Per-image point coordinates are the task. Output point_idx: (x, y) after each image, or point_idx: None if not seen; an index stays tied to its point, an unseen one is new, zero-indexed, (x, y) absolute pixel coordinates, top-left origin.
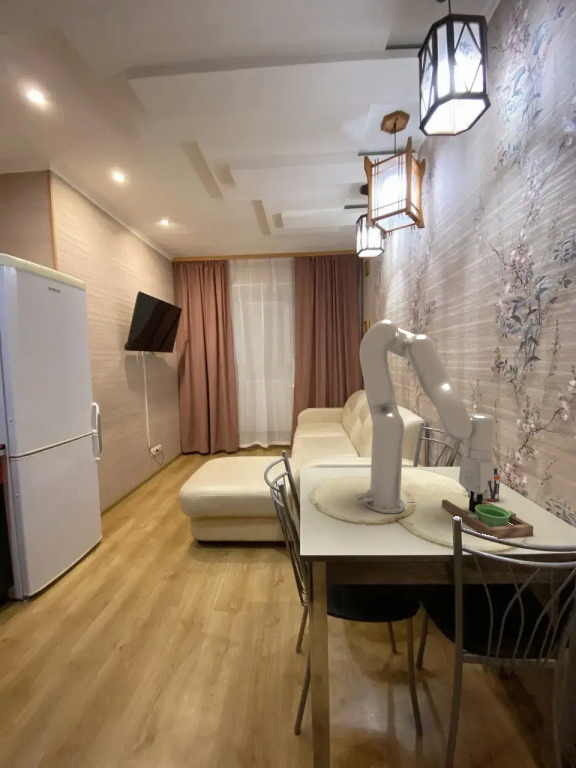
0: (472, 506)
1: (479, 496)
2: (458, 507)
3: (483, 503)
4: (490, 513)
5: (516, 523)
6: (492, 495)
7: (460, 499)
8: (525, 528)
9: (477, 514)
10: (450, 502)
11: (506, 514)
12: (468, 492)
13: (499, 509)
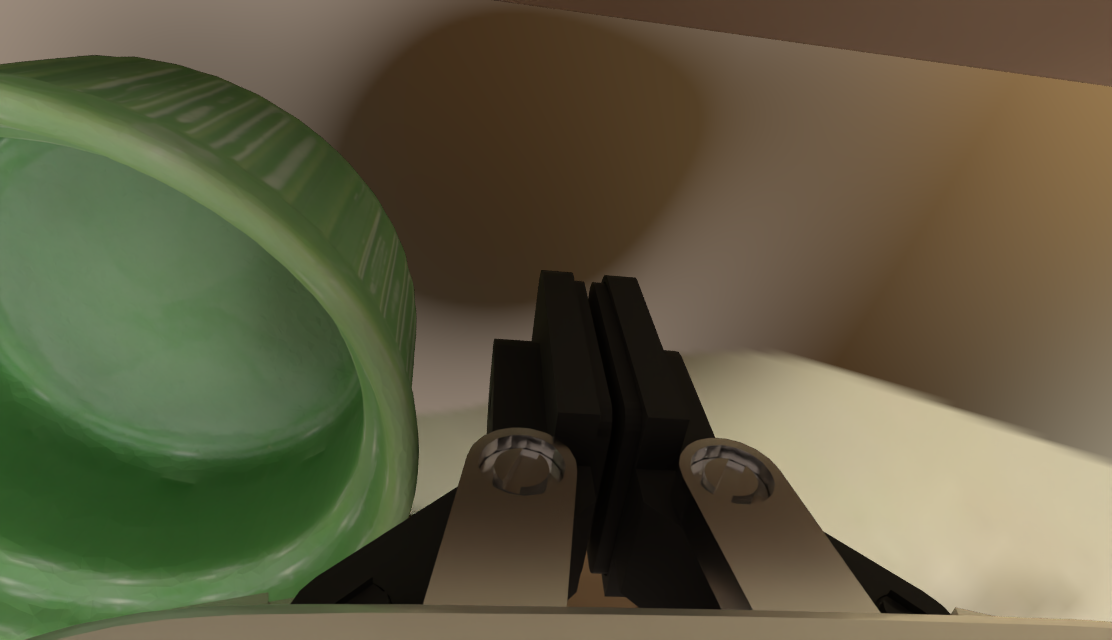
0: (549, 325)
1: (369, 597)
2: (680, 16)
3: None
4: (333, 460)
5: None
6: None
7: (1015, 483)
8: None
9: (106, 93)
10: (978, 54)
11: (34, 586)
12: (803, 546)
13: None
